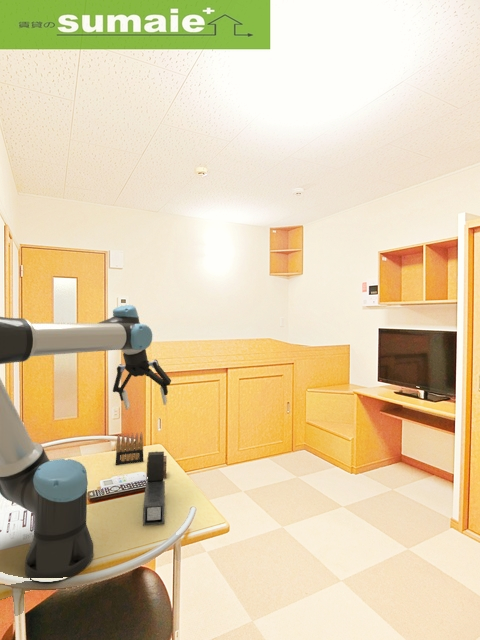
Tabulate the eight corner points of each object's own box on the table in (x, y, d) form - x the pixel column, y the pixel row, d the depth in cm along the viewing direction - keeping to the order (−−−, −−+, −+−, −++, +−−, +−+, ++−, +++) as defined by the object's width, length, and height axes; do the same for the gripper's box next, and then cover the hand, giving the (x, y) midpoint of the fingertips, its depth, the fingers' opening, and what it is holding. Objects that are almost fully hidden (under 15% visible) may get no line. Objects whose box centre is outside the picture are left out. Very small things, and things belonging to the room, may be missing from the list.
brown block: (166, 478, 136) (166, 461, 136) (146, 479, 135) (146, 462, 135) (166, 472, 141) (166, 455, 141) (147, 473, 140) (147, 456, 139)
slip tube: (162, 519, 108) (163, 473, 108) (144, 520, 107) (145, 474, 107) (163, 484, 129) (164, 445, 129) (148, 485, 128) (149, 446, 128)
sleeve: (164, 523, 108) (164, 503, 107) (143, 525, 106) (143, 505, 106) (164, 499, 121) (164, 481, 121) (145, 500, 120) (146, 482, 120)
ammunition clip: (142, 460, 152) (143, 431, 151) (143, 461, 150) (144, 432, 150) (115, 463, 148) (116, 433, 147) (115, 465, 146) (116, 435, 146)
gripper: (171, 341, 129) (182, 395, 135) (101, 351, 130) (115, 404, 136) (168, 349, 122) (179, 406, 128) (94, 359, 122) (108, 415, 128)
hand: (146, 405), depth 132 cm, fingers open, 13 cm apart
